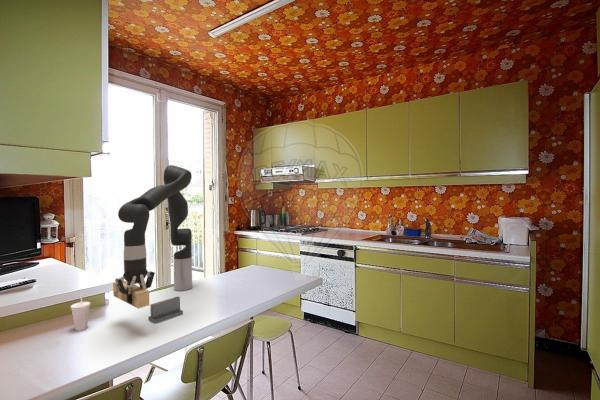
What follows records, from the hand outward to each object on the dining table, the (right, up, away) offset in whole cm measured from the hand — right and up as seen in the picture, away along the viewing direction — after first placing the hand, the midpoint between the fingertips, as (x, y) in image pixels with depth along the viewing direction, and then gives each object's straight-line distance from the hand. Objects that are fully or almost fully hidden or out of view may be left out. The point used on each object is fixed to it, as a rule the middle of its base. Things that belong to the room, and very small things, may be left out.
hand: (136, 301), depth 116 cm
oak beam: (-4, -1, +3) cm, 5 cm away
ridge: (+5, -11, +14) cm, 19 cm away
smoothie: (-24, -12, +4) cm, 27 cm away
